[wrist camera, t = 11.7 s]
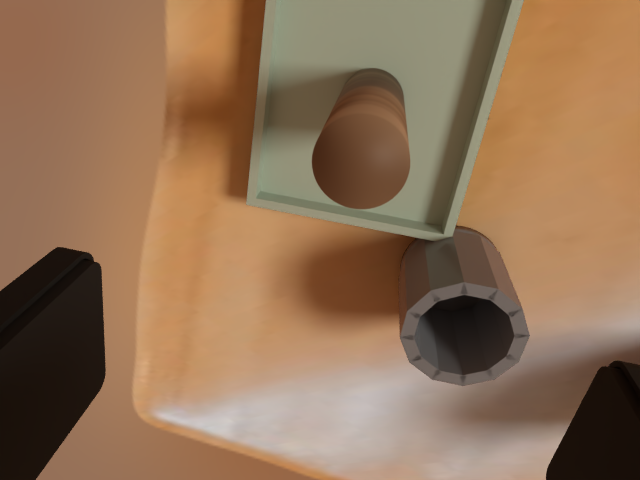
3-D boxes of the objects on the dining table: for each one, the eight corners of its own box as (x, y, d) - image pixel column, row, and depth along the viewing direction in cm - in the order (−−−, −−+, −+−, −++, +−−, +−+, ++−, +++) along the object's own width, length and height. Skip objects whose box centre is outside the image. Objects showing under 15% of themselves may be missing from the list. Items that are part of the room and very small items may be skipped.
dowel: (346, 62, 32) (319, 105, 20) (410, 74, 32) (420, 124, 20) (335, 126, 34) (305, 199, 22) (396, 137, 34) (398, 217, 22)
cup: (412, 216, 36) (417, 273, 29) (515, 236, 36) (545, 298, 29) (390, 301, 40) (390, 371, 33) (484, 320, 39) (505, 394, 32)
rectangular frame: (279, -61, 30) (272, -64, 28) (521, -20, 29) (529, -21, 28) (253, 194, 37) (246, 204, 35) (447, 231, 37) (450, 244, 35)
